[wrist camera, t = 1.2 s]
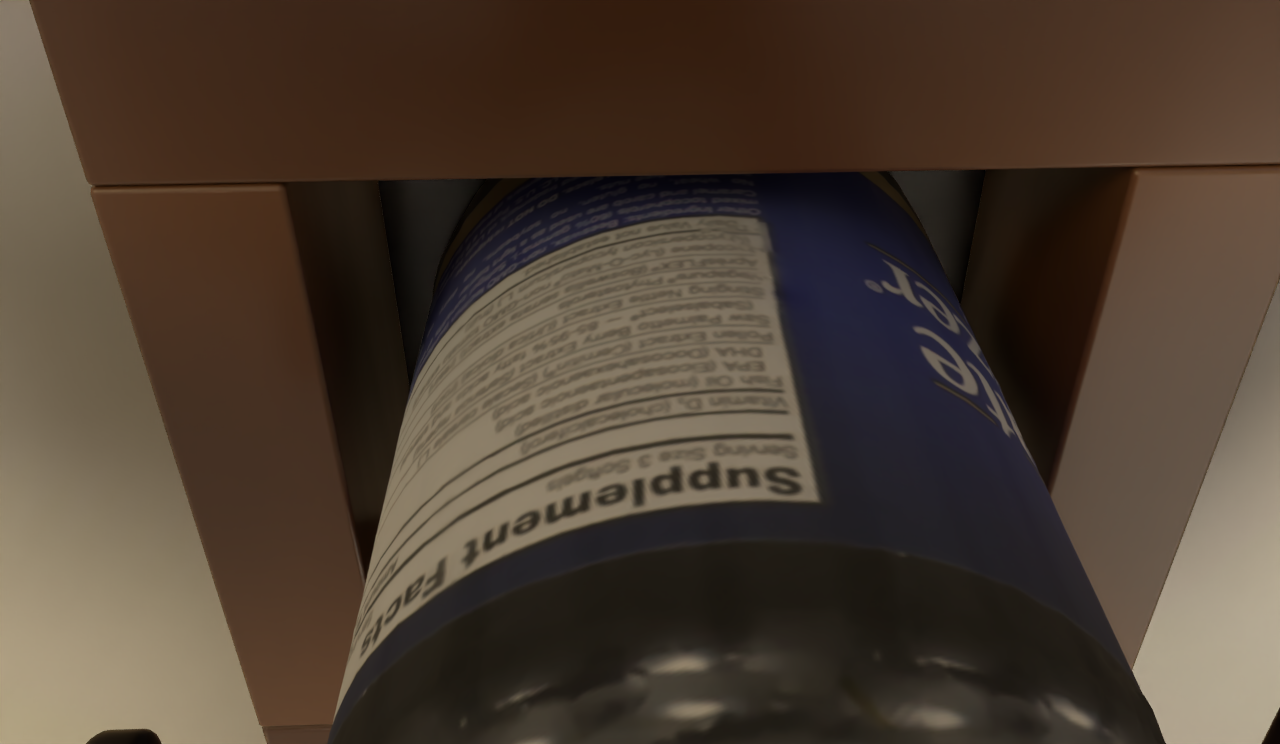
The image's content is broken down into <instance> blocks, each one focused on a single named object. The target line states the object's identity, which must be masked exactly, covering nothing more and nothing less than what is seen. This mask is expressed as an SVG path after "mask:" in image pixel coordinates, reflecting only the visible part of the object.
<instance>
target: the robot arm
mask: <svg viewBox="0 0 1280 744" xmlns="http://www.w3.org/2000/svg"><path fill="white" fill-rule="evenodd" d="M86 744H161V741H160V739H159V737H158V736H157V734H155V733H154V732H153V731H151V730H149V729H124V730H107V731H103V732H101V733H99V734H97V735H95V736H94V737H93V738H91V739H90V740H89V741H88V742H87V743H86ZM1262 744H1280V708H1279V710H1278V712H1277V714H1276V716H1275V718H1274V720H1273V722H1272V724H1271V726H1270V728H1269V730H1268V732H1267V734H1266V736H1265V738H1264V740H1263V742H1262Z"/></svg>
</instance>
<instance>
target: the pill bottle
mask: <svg viewBox="0 0 1280 744" xmlns="http://www.w3.org/2000/svg"><path fill="white" fill-rule="evenodd" d="M327 744H1166V743H1165V741H1164V739H1163V736H1162V733H1161V731H1160V728H1159V725H1158V723H1157V720H1156V718H1155V715H1154V712H1153V710H1152V708H1151V706H1150V705H1149V703H1148V701H1147V700H1146V698H1145V696H1144V695H1143V694H1142V692H1141V690H1140V688H1139V685H1138V683H1137V681H1136V679H1135V677H1134V675H1133V672H1132V670H1131V668H1130V666H1129V664H1128V662H1127V660H1126V657H1125V655H1124V653H1123V651H1122V649H1121V647H1120V645H1119V643H1118V640H1117V638H1116V636H1115V634H1114V632H1113V630H1112V628H1111V625H1110V623H1109V621H1108V619H1107V617H1106V615H1105V612H1104V610H1103V608H1102V606H1101V604H1100V602H1099V600H1098V597H1097V595H1096V593H1095V591H1094V589H1093V587H1092V585H1091V583H1090V580H1089V578H1088V576H1087V574H1086V572H1085V570H1084V568H1083V566H1082V564H1081V561H1080V559H1079V557H1078V555H1077V553H1076V551H1075V549H1074V547H1073V545H1072V542H1071V540H1070V538H1069V536H1068V534H1067V532H1066V530H1065V528H1064V525H1063V523H1062V521H1061V519H1060V517H1059V514H1058V512H1057V510H1056V508H1055V505H1054V503H1053V501H1052V499H1051V496H1050V494H1049V492H1048V490H1047V488H1046V485H1045V483H1044V481H1043V479H1042V477H1041V475H1040V474H1039V471H1038V469H1037V466H1036V464H1035V461H1034V460H1033V458H1032V456H1031V454H1030V452H1029V450H1028V449H1027V447H1026V444H1025V442H1024V440H1023V438H1022V435H1021V433H1020V431H1019V429H1018V427H1017V424H1016V421H1015V419H1014V417H1013V415H1012V413H1011V411H1010V409H1009V407H1008V405H1007V403H1006V401H1005V399H1004V396H1003V393H1002V391H1001V388H1000V385H999V383H998V381H997V380H996V378H995V377H994V375H993V373H992V371H991V369H990V367H989V365H988V363H987V361H986V359H985V357H984V355H983V352H982V350H981V348H980V346H979V344H978V342H977V340H976V338H975V335H974V333H973V331H972V329H971V327H970V325H969V323H968V320H967V318H966V316H965V314H964V312H963V310H962V308H961V306H960V303H959V301H958V299H957V297H956V295H955V293H954V291H953V289H952V287H951V285H950V282H949V280H948V278H947V276H946V274H945V272H944V270H943V268H942V266H941V264H940V262H939V260H938V257H937V255H936V253H935V251H934V249H933V247H932V245H931V243H930V240H929V238H928V236H927V234H926V232H925V230H924V228H923V225H922V223H921V221H920V219H919V218H918V216H917V214H916V213H915V211H914V210H913V208H912V206H911V205H910V203H909V201H908V200H907V198H906V197H905V195H904V193H903V192H902V190H901V188H900V186H899V185H898V183H897V182H896V181H895V180H894V178H893V177H892V176H891V175H890V174H889V173H888V172H887V171H877V172H821V173H766V174H711V175H655V176H600V177H545V178H489V179H487V180H486V181H485V182H484V184H483V185H482V186H481V187H480V189H479V190H478V192H477V193H476V195H475V196H474V198H473V199H472V201H471V203H470V205H469V206H468V208H467V210H466V211H465V213H464V215H463V217H462V218H461V220H460V222H459V224H458V226H457V228H456V230H455V232H454V233H453V235H452V237H451V239H450V241H449V243H448V245H447V247H446V249H445V251H444V253H443V254H442V256H441V259H440V262H439V265H438V268H437V272H436V276H435V280H434V287H433V296H432V302H431V306H430V310H429V314H428V317H427V321H426V325H425V329H424V333H423V338H422V342H421V346H420V350H419V354H418V358H417V363H416V367H415V371H414V375H413V380H412V384H411V388H410V392H409V397H408V401H407V405H406V409H405V414H404V418H403V422H402V426H401V429H400V434H399V438H398V443H397V447H396V452H395V456H394V461H393V466H392V470H391V475H390V479H389V483H388V487H387V492H386V496H385V500H384V504H383V509H382V513H381V517H380V521H379V526H378V530H377V534H376V538H375V543H374V548H373V552H372V557H371V561H370V566H369V570H368V575H367V579H366V584H365V588H364V593H363V598H362V602H361V605H360V609H359V613H358V617H357V621H356V626H355V629H354V633H353V639H352V644H351V648H350V652H349V657H348V661H347V665H346V670H345V674H344V678H343V682H342V686H341V690H340V694H339V698H338V703H337V707H336V711H335V716H334V720H333V724H332V727H331V730H330V733H329V738H328V742H327Z"/></svg>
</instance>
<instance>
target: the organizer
mask: <svg viewBox="0 0 1280 744" xmlns="http://www.w3.org/2000/svg"><path fill="white" fill-rule="evenodd" d="M29 1H30V4H31V7H32V10H33V14H34V17H35V20H36V23H37V26H38V29H39V32H40V36H41V39H42V42H43V45H44V48H45V51H46V54H47V58H48V61H49V64H50V67H51V70H52V73H53V76H54V80H55V83H56V86H57V89H58V92H59V95H60V98H61V101H62V105H63V108H64V111H65V114H66V117H67V120H68V123H69V127H70V130H71V133H72V136H73V139H74V142H75V145H76V149H77V152H78V155H79V158H80V161H81V164H82V167H83V171H84V174H85V177H86V180H87V182H88V183H89V184H90V185H93V186H92V187H91V197H92V200H93V203H94V206H95V209H96V213H97V216H98V219H99V222H100V225H101V228H102V231H103V235H104V238H105V241H106V244H107V247H108V250H109V253H110V257H111V260H112V263H113V266H114V269H115V272H116V275H117V278H118V282H119V285H120V288H121V291H122V294H123V297H124V300H125V304H126V307H127V310H128V313H129V316H130V319H131V322H132V326H133V329H134V332H135V335H136V338H137V341H138V344H139V348H140V351H141V354H142V357H143V360H144V363H145V366H146V370H147V373H148V376H149V379H150V382H151V385H152V388H153V391H154V395H155V398H156V401H157V404H158V407H159V410H160V413H161V417H162V420H163V423H164V426H165V429H166V432H167V435H168V439H169V442H170V445H171V448H172V451H173V454H174V457H175V461H176V464H177V467H178V470H179V473H180V476H181V479H182V483H183V486H184V489H185V492H186V495H187V498H188V501H189V505H190V508H191V511H192V514H193V517H194V520H195V523H196V526H197V530H198V533H199V536H200V539H201V542H202V545H203V548H204V552H205V555H206V558H207V561H208V564H209V567H210V570H211V574H212V577H213V580H214V583H215V586H216V589H217V592H218V596H219V599H220V602H221V605H222V608H223V611H224V614H225V618H226V621H227V624H228V627H229V630H230V633H231V636H232V640H233V643H234V646H235V649H236V652H237V655H238V658H239V661H240V665H241V668H242V671H243V674H244V677H245V680H246V683H247V687H248V690H249V693H250V696H251V699H252V702H253V705H254V709H255V712H256V715H257V718H258V721H259V724H260V725H261V726H262V728H263V733H264V736H265V739H266V742H267V744H327V742H328V738H329V733H330V730H331V727H332V724H333V720H334V716H335V711H336V707H337V703H338V698H339V694H340V690H341V686H342V682H343V678H344V674H345V670H346V665H347V661H348V657H349V652H350V648H351V644H352V639H353V633H354V629H355V626H356V621H357V617H358V613H359V609H360V605H361V602H362V598H363V593H364V588H365V584H366V579H367V575H368V570H369V566H370V561H371V557H372V552H373V548H374V543H375V538H376V534H377V530H378V526H379V521H380V517H381V513H382V509H383V504H384V500H385V496H386V492H387V487H388V483H389V479H390V475H391V470H392V466H393V461H394V456H395V452H396V447H397V443H398V438H399V434H400V429H401V426H402V422H403V418H404V414H405V409H406V405H407V401H408V397H409V392H410V386H409V380H408V373H407V367H406V360H405V354H404V347H403V341H402V334H401V328H400V321H399V315H398V308H397V302H396V295H395V289H394V282H393V276H392V269H391V262H390V256H389V249H388V243H387V236H386V230H385V223H384V217H383V210H382V204H381V197H380V191H379V184H378V181H379V180H434V179H489V178H545V177H600V176H655V175H711V174H766V173H821V172H877V171H932V170H986V172H985V177H984V183H983V188H982V193H981V199H980V204H979V209H978V214H977V220H976V225H975V230H974V236H973V241H972V246H971V251H970V257H969V262H968V267H967V273H966V278H965V283H964V288H963V294H962V299H961V304H960V306H961V308H962V310H963V312H964V314H965V316H966V318H967V320H968V323H969V325H970V327H971V329H972V331H973V333H974V335H975V338H976V340H977V342H978V344H979V346H980V348H981V350H982V352H983V355H984V357H985V359H986V361H987V363H988V365H989V367H990V369H991V371H992V373H993V375H994V377H995V378H996V380H997V381H998V383H999V385H1000V388H1001V391H1002V393H1003V396H1004V399H1005V401H1006V403H1007V405H1008V407H1009V409H1010V411H1011V413H1012V415H1013V417H1014V419H1015V421H1016V424H1017V427H1018V429H1019V431H1020V433H1021V435H1022V438H1023V440H1024V442H1025V444H1026V447H1027V449H1028V450H1029V452H1030V454H1031V456H1032V458H1033V460H1034V461H1035V464H1036V466H1037V469H1038V471H1039V474H1040V475H1041V477H1042V479H1043V481H1044V483H1045V485H1046V488H1047V490H1048V492H1049V494H1050V496H1051V499H1052V501H1053V503H1054V505H1055V508H1056V510H1057V512H1058V514H1059V517H1060V519H1061V521H1062V523H1063V525H1064V528H1065V530H1066V532H1067V534H1068V536H1069V538H1070V540H1071V542H1072V545H1073V547H1074V549H1075V551H1076V553H1077V555H1078V557H1079V559H1080V561H1081V564H1082V566H1083V568H1084V570H1085V572H1086V574H1087V576H1088V578H1089V580H1090V583H1091V585H1092V587H1093V589H1094V591H1095V593H1096V595H1097V597H1098V600H1099V602H1100V604H1101V606H1102V608H1103V610H1104V612H1105V615H1106V617H1107V619H1108V621H1109V623H1110V625H1111V628H1112V630H1113V632H1114V634H1115V636H1116V638H1117V640H1118V643H1119V645H1120V647H1121V649H1122V651H1123V653H1124V655H1125V657H1126V660H1127V662H1128V664H1129V666H1130V668H1131V670H1132V669H1133V666H1134V663H1135V661H1136V658H1137V655H1138V653H1139V650H1140V647H1141V645H1142V642H1143V639H1144V637H1145V634H1146V631H1147V629H1148V626H1149V624H1150V621H1151V618H1152V616H1153V613H1154V610H1155V608H1156V605H1157V602H1158V600H1159V597H1160V594H1161V592H1162V589H1163V586H1164V584H1165V581H1166V578H1167V576H1168V573H1169V571H1170V568H1171V565H1172V563H1173V560H1174V557H1175V555H1176V552H1177V549H1178V547H1179V544H1180V541H1181V539H1182V536H1183V533H1184V531H1185V528H1186V526H1187V523H1188V520H1189V518H1190V515H1191V512H1192V510H1193V507H1194V504H1195V502H1196V499H1197V496H1198V494H1199V491H1200V488H1201V486H1202V483H1203V480H1204V478H1205V475H1206V473H1207V470H1208V467H1209V465H1210V462H1211V459H1212V457H1213V454H1214V451H1215V449H1216V446H1217V443H1218V441H1219V438H1220V435H1221V433H1222V430H1223V427H1224V425H1225V422H1226V420H1227V417H1228V414H1229V412H1230V409H1231V406H1232V404H1233V401H1234V398H1235V396H1236V393H1237V390H1238V388H1239V385H1240V382H1241V380H1242V377H1243V375H1244V372H1245V369H1246V367H1247V364H1248V361H1249V359H1250V356H1251V353H1252V351H1253V348H1254V345H1255V343H1256V340H1257V337H1258V335H1259V332H1260V329H1261V327H1262V324H1263V322H1264V319H1265V316H1266V314H1267V311H1268V308H1269V306H1270V303H1271V300H1272V298H1273V295H1274V292H1275V290H1276V287H1277V284H1278V282H1279V279H1280V0H29Z"/></svg>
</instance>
